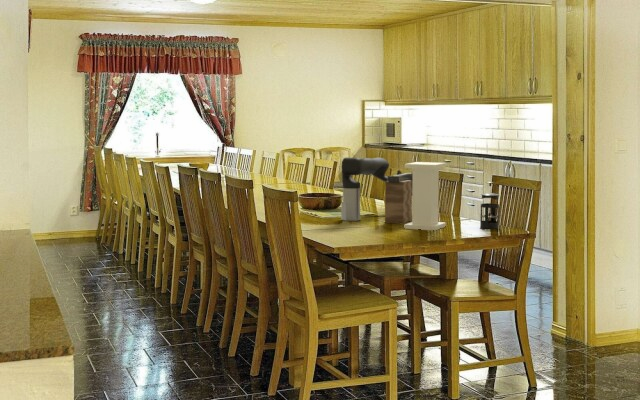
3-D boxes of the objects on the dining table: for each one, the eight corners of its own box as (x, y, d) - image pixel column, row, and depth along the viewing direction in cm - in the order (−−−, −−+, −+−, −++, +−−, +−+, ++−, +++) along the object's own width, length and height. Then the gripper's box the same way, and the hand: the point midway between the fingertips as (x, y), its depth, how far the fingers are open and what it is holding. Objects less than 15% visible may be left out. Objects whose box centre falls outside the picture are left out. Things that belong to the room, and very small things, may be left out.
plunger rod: (396, 182, 425) (396, 176, 425) (385, 182, 428) (385, 176, 428) (415, 178, 449) (415, 173, 448) (405, 178, 451) (405, 172, 451)
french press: (495, 230, 406) (495, 183, 404) (476, 229, 411) (477, 182, 408) (502, 227, 416) (503, 181, 414) (484, 226, 421) (485, 180, 418)
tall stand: (434, 230, 406) (435, 164, 402) (404, 228, 413) (404, 163, 410) (445, 226, 420) (446, 162, 416) (415, 224, 427) (416, 161, 424)
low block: (403, 223, 430) (403, 182, 428) (385, 222, 435) (385, 181, 433) (411, 220, 441) (411, 180, 439) (393, 219, 446) (394, 179, 443)
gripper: (426, 191, 453) (417, 178, 439) (401, 190, 459) (392, 177, 446) (428, 179, 455) (419, 165, 442) (404, 178, 462) (394, 165, 449)
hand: (405, 171), depth 444 cm, fingers open, 8 cm apart
